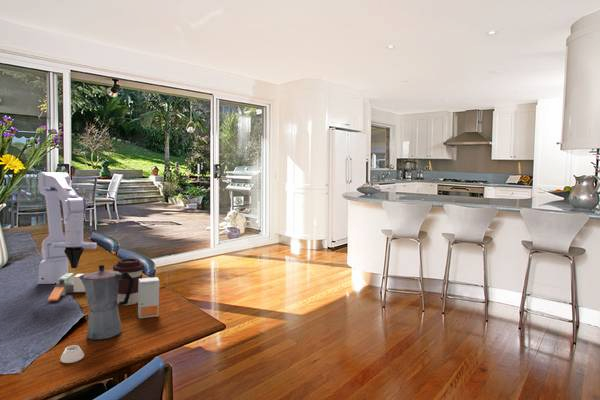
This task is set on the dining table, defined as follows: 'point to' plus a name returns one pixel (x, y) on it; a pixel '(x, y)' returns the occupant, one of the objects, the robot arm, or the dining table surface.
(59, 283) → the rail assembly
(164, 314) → the dining table surface
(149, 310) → the skincare box
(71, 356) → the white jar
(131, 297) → the coffee cup
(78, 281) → the carriage
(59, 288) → the lever
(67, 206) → the robot arm
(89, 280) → the moka pot
